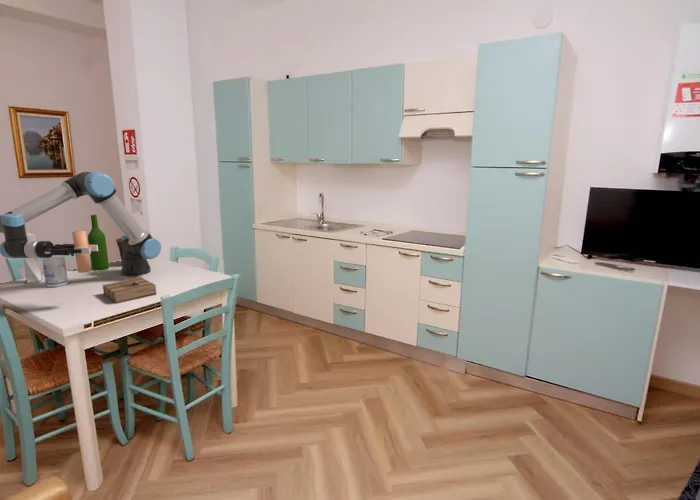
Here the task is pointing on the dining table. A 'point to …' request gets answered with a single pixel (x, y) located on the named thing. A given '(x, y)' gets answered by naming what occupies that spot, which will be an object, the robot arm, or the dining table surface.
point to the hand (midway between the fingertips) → (93, 249)
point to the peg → (81, 259)
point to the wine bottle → (98, 238)
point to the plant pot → (120, 249)
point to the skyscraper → (32, 265)
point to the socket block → (129, 290)
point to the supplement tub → (55, 271)
